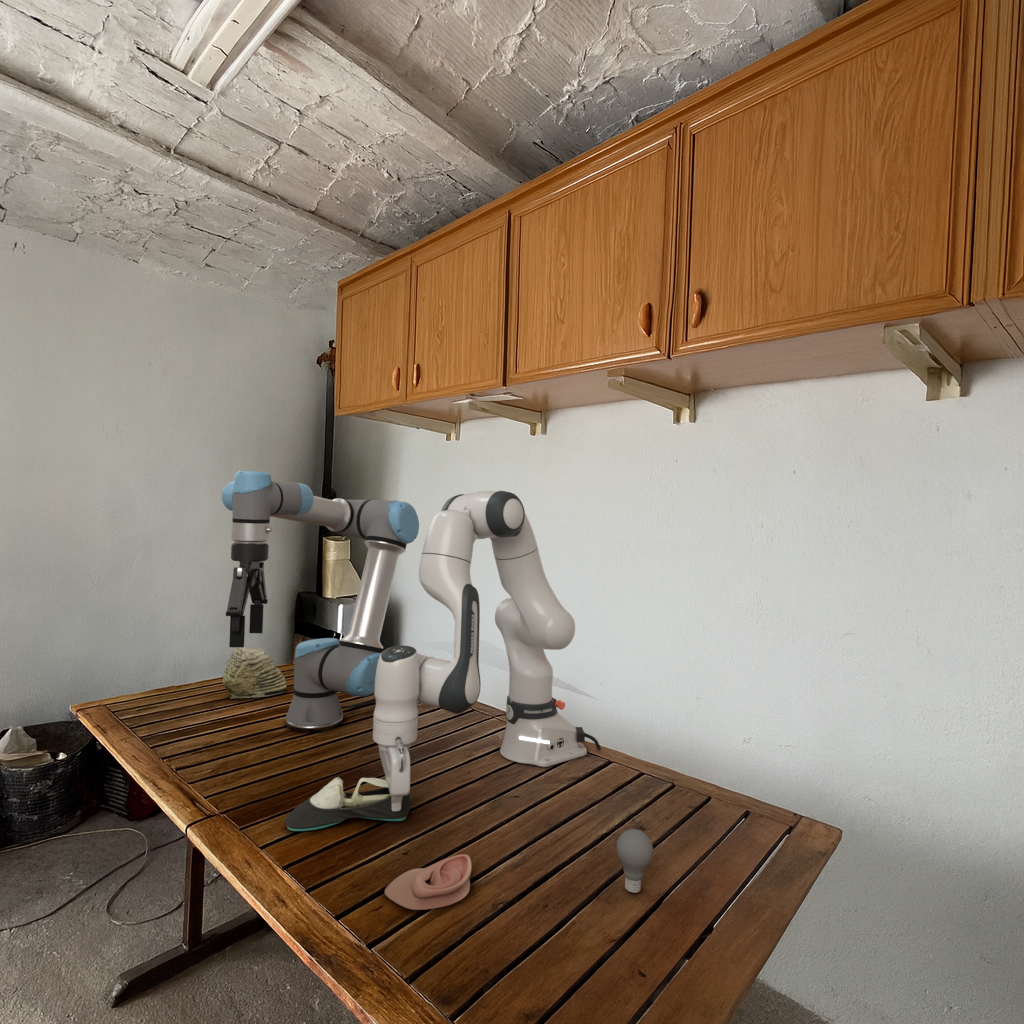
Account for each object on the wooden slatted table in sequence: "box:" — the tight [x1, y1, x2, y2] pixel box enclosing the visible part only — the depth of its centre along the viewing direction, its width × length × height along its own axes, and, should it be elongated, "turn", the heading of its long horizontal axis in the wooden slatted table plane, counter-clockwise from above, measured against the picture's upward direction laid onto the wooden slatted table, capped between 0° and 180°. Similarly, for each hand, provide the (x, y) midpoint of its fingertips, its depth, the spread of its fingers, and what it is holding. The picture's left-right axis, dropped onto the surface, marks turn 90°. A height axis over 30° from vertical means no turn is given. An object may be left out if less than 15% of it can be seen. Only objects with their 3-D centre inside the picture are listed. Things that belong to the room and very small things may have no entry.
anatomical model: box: [384, 853, 473, 911], centre depth 104 cm, size 13×4×12 cm
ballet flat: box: [284, 776, 413, 832], centre depth 125 cm, size 8×24×8 cm, turn 109°
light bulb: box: [615, 828, 654, 894], centre depth 106 cm, size 6×6×10 cm
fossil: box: [222, 646, 288, 699], centre depth 198 cm, size 9×18×15 cm, turn 132°
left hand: (246, 639), depth 138 cm, fingers open, 13 cm apart
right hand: (392, 798), depth 127 cm, fingers open, 8 cm apart
